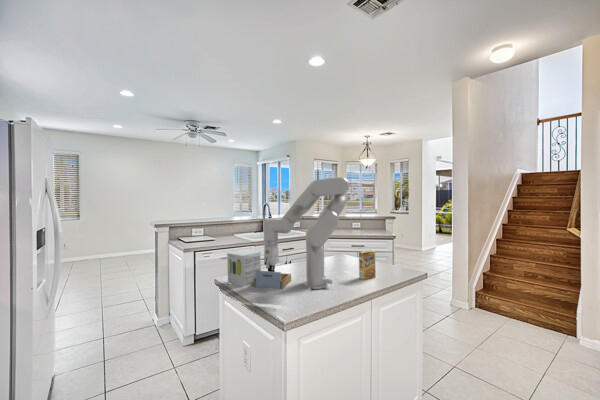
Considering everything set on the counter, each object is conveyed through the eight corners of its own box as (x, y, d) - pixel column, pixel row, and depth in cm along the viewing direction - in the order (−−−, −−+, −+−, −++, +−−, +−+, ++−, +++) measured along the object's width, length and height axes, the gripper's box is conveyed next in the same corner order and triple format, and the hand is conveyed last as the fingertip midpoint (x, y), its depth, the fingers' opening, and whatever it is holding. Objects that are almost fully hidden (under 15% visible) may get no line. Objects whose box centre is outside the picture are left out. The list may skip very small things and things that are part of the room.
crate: (291, 282, 153) (291, 273, 153) (282, 291, 140) (282, 281, 140) (264, 280, 158) (264, 272, 158) (253, 288, 145) (253, 279, 144)
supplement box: (227, 284, 152) (226, 252, 151) (244, 278, 162) (244, 248, 162) (244, 289, 144) (243, 255, 144) (261, 282, 155) (261, 251, 155)
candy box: (363, 279, 158) (362, 252, 157) (358, 277, 161) (358, 251, 161) (375, 277, 161) (375, 251, 161) (371, 275, 165) (371, 250, 165)
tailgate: (281, 287, 142) (280, 272, 141) (280, 288, 140) (279, 273, 140) (257, 285, 145) (256, 270, 145) (255, 286, 144) (255, 271, 144)
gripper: (272, 245, 138) (272, 282, 139) (282, 240, 153) (282, 273, 153) (258, 244, 141) (258, 280, 141) (269, 240, 155) (270, 272, 155)
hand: (271, 277), depth 147 cm, fingers closed
